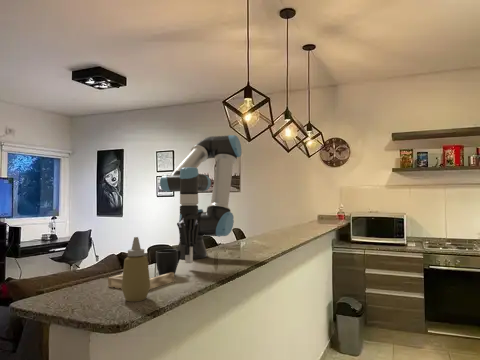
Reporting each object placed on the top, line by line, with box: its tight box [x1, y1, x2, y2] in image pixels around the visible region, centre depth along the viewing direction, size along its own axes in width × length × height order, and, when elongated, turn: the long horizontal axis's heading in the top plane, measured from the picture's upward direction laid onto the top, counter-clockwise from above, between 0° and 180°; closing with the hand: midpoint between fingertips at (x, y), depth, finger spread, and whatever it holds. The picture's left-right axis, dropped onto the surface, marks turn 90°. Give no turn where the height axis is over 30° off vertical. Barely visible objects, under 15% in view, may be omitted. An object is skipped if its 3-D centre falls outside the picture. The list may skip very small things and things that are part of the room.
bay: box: [107, 272, 175, 290], centre depth 125 cm, size 16×15×3 cm
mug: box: [155, 248, 181, 277], centre depth 138 cm, size 8×12×10 cm
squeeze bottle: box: [121, 236, 150, 303], centre depth 106 cm, size 8×8×18 cm
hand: (188, 262), depth 148 cm, fingers closed
